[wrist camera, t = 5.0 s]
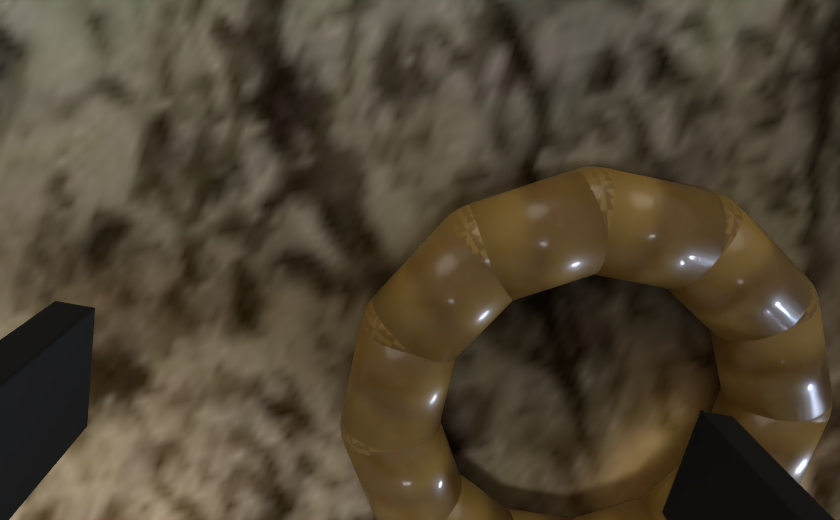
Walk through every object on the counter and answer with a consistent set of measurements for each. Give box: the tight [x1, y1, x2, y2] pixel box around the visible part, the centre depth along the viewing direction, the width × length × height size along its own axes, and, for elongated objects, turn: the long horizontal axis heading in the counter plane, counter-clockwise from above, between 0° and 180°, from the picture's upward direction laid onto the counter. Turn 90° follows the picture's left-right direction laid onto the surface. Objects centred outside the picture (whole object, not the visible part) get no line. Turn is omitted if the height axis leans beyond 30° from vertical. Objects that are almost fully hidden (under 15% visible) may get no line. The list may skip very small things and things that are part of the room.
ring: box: [341, 166, 832, 520], centre depth 16 cm, size 12×12×2 cm
